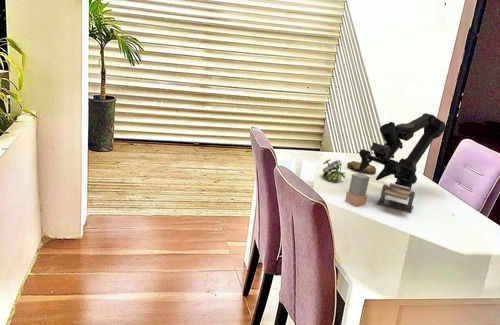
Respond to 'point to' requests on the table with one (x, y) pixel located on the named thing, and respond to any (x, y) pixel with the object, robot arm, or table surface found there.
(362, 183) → the slate block
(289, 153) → the table surface
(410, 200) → the trapdoor frame
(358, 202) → the plinth
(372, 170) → the decorative rock
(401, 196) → the trapdoor
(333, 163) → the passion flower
